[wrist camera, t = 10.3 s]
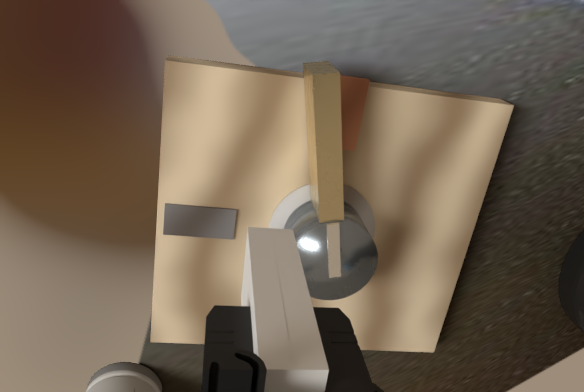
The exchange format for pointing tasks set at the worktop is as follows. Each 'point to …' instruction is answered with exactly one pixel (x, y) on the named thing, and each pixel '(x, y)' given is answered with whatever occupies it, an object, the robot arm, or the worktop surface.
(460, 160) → the lock base
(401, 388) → the worktop surface
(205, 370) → the robot arm
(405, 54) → the worktop surface
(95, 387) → the travel mug
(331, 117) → the measuring cup
